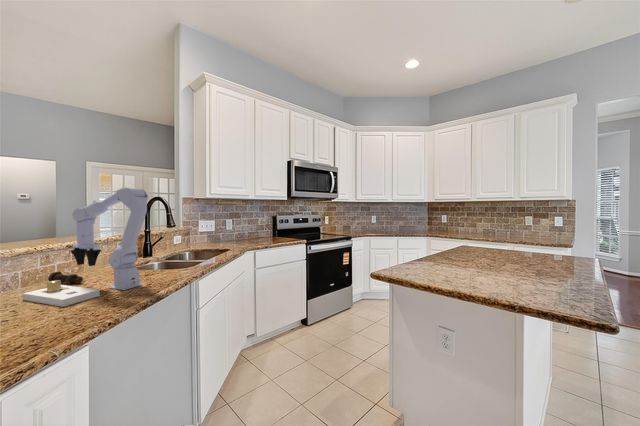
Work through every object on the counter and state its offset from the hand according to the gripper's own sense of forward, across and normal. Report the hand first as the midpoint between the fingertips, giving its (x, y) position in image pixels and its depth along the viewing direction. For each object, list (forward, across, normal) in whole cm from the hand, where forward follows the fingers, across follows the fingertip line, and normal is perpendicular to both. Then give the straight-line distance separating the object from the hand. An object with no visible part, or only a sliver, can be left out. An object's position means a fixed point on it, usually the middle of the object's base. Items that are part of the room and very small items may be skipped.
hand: (86, 265), depth 122 cm
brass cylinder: (+9, +4, -14) cm, 17 cm away
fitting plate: (+9, +9, -14) cm, 19 cm away
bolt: (+10, -15, 0) cm, 18 cm away
